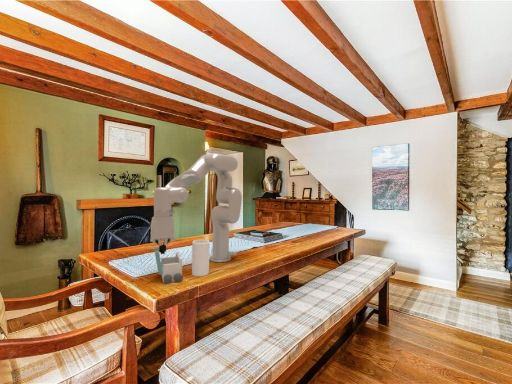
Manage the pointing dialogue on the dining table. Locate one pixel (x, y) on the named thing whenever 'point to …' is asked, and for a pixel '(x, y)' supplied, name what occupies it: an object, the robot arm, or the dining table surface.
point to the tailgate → (158, 260)
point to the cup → (200, 257)
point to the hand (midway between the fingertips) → (162, 253)
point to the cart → (171, 269)
